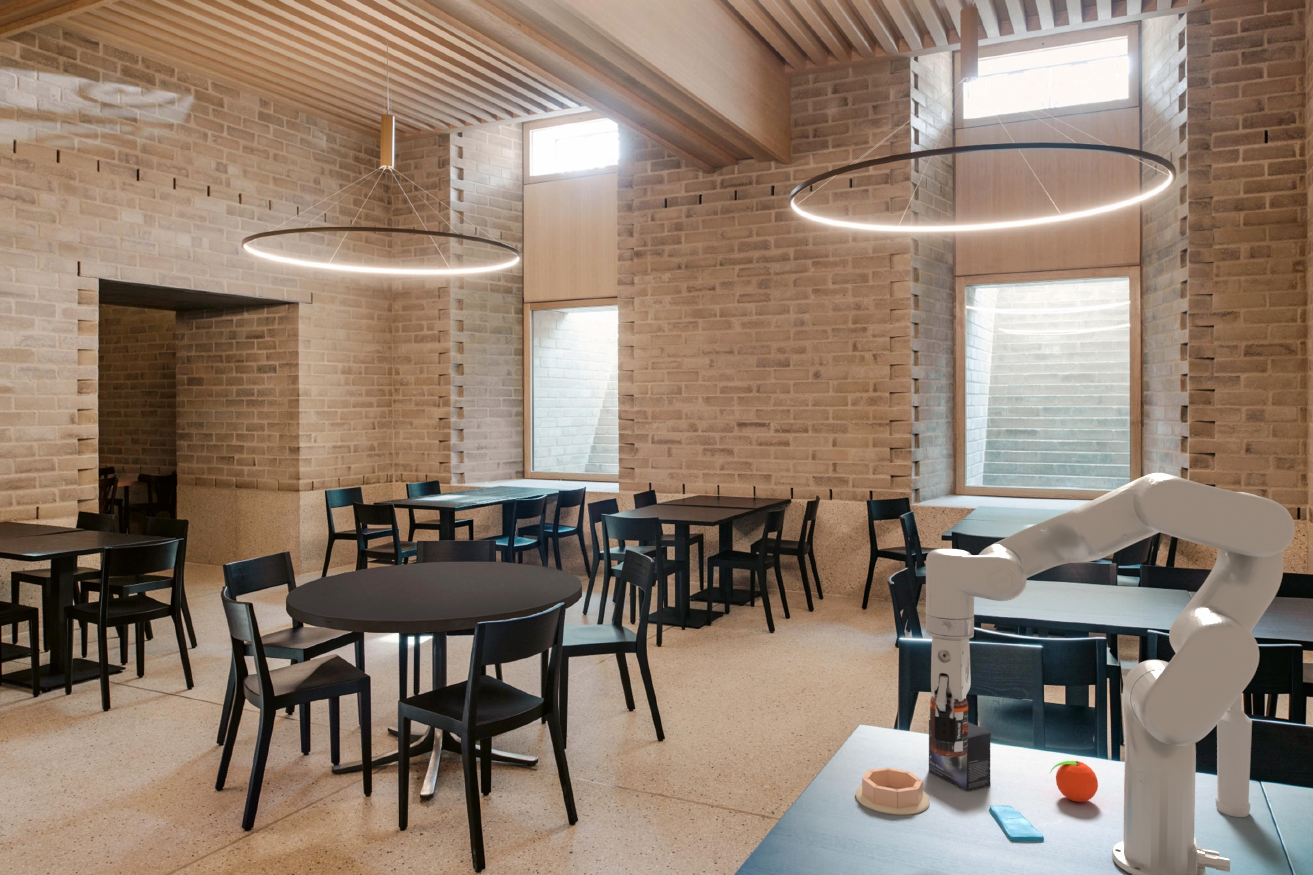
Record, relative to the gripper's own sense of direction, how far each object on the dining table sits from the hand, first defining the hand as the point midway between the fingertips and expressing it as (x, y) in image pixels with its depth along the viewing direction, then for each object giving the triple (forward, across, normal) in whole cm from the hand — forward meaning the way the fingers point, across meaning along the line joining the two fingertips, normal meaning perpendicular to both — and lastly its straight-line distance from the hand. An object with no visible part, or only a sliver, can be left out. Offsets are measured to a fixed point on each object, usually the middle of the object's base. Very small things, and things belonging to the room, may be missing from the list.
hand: (948, 733), depth 148 cm
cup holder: (+17, +11, +12) cm, 23 cm away
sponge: (+18, +10, -9) cm, 23 cm away
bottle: (+18, +33, -43) cm, 57 cm away
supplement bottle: (+3, 0, 0) cm, 3 cm away
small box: (+18, +26, +2) cm, 31 cm away
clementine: (+18, +25, -18) cm, 36 cm away
